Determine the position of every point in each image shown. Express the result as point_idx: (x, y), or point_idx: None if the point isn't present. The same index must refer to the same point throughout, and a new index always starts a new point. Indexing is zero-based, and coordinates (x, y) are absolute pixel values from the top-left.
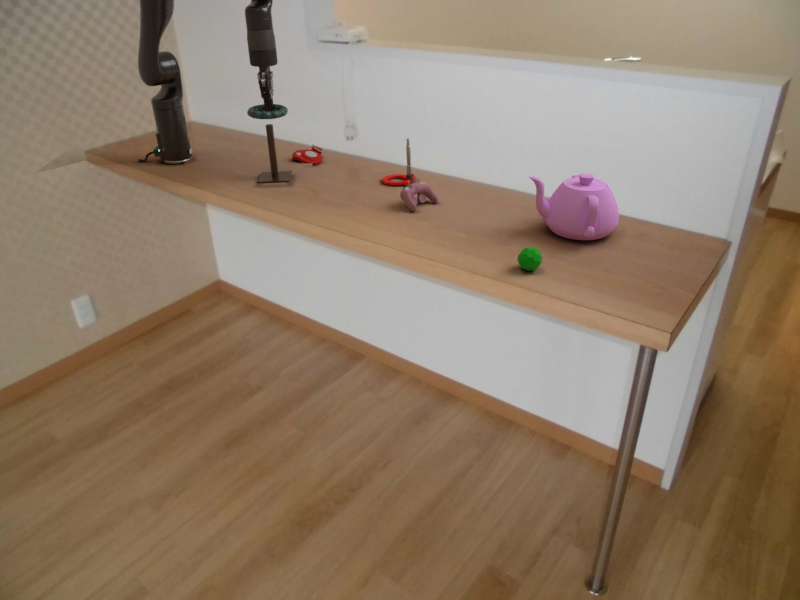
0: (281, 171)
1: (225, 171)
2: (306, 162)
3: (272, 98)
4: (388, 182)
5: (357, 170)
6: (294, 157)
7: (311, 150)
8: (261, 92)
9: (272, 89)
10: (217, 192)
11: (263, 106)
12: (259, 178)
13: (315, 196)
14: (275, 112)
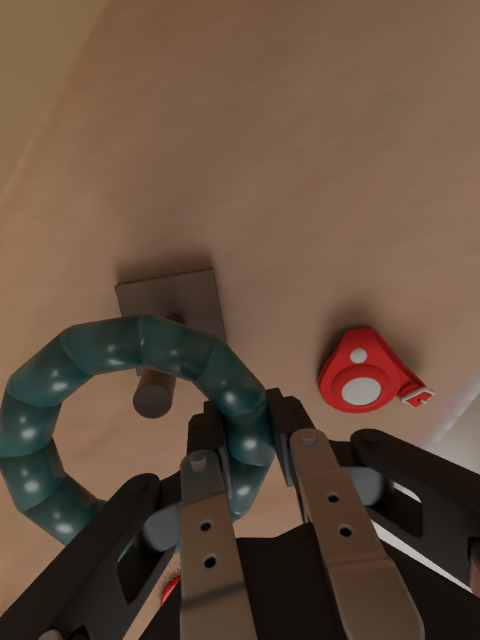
0: (222, 331)
1: (266, 117)
2: (320, 378)
3: (291, 478)
4: (165, 595)
5: (279, 504)
6: (339, 345)
7: (395, 385)
8: (81, 537)
9: (368, 514)
10: (43, 161)
11: (217, 406)
12: (147, 281)
13: (61, 455)
14: (46, 530)
